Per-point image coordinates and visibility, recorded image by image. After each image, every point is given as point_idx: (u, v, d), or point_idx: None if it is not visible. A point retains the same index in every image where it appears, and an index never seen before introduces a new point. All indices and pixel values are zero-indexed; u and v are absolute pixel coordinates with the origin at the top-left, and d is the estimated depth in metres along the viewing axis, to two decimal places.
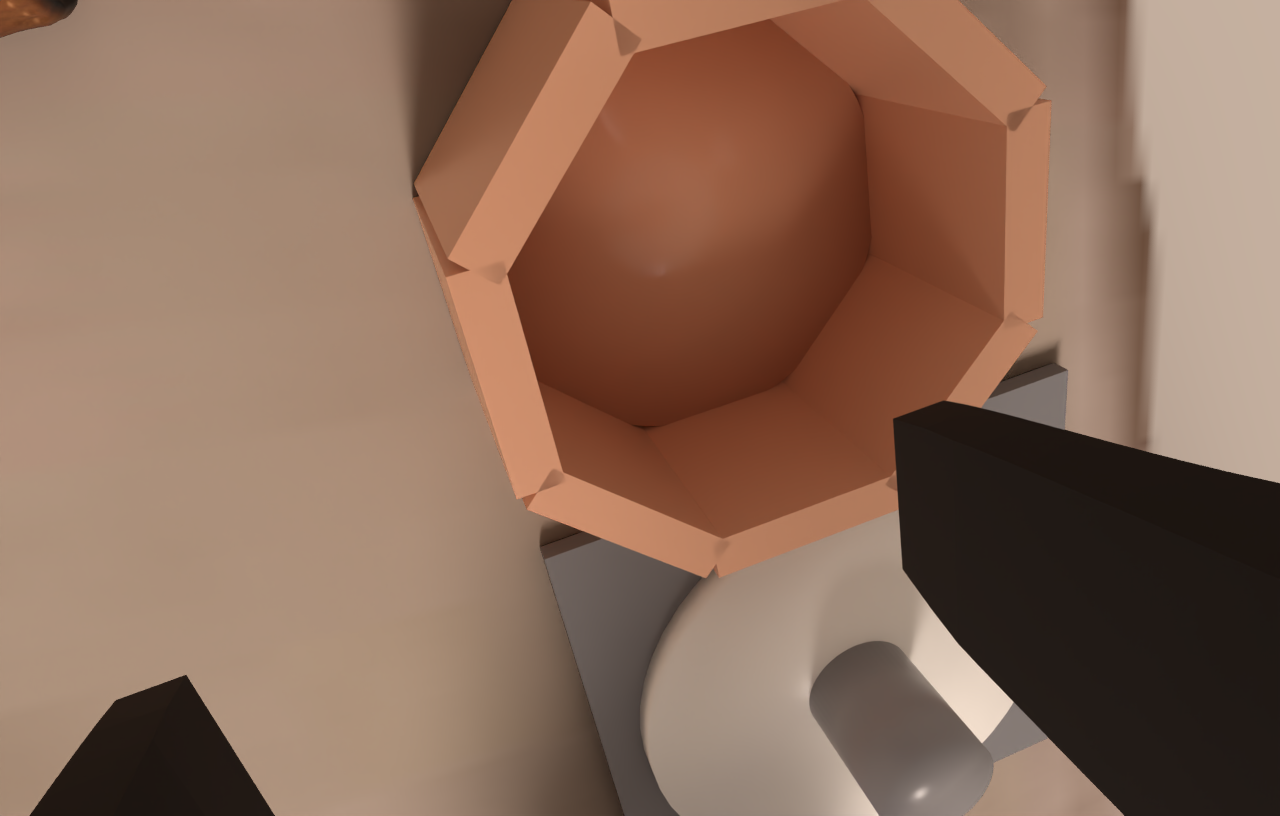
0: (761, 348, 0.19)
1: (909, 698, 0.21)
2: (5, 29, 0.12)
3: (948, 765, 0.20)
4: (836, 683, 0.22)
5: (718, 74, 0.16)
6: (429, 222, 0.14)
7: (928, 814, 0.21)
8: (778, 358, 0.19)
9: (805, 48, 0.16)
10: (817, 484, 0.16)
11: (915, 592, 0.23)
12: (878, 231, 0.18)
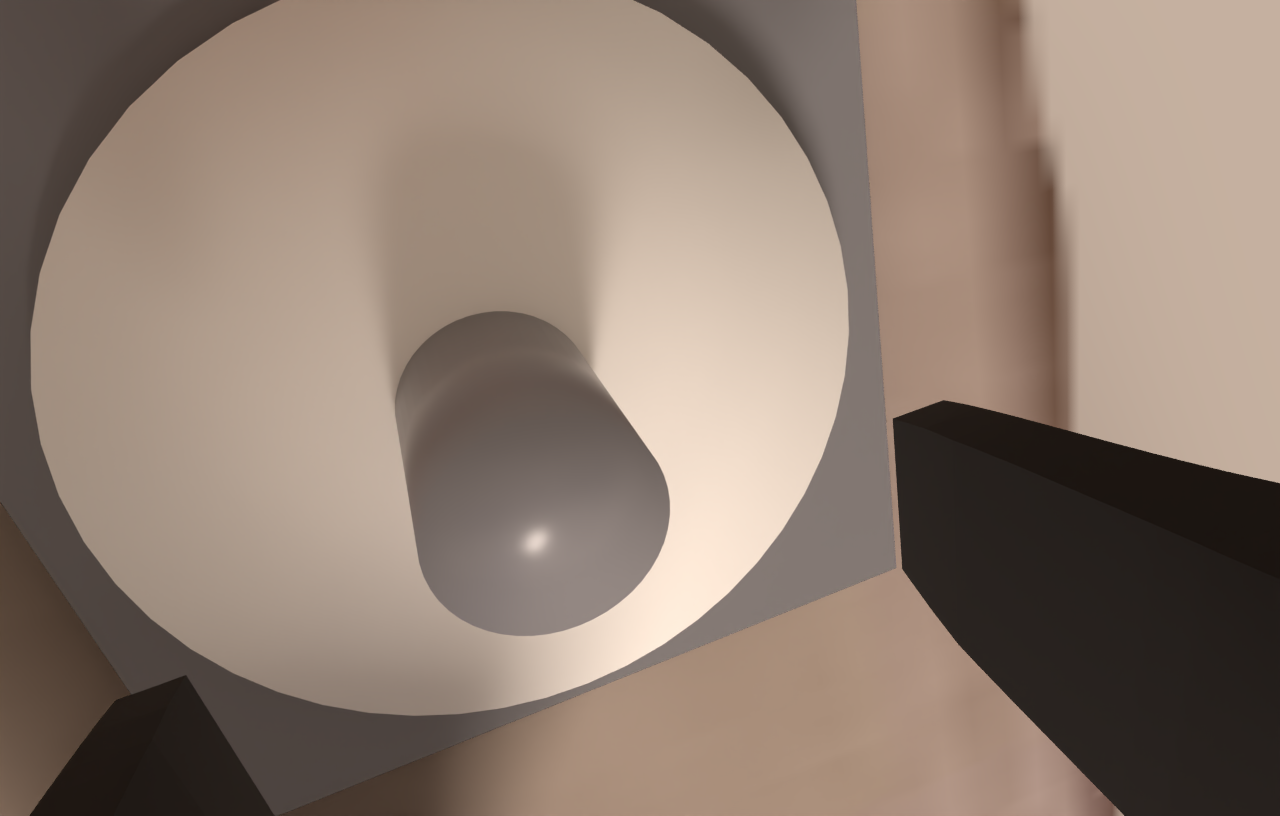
0: None
1: (511, 365, 0.11)
2: None
3: (554, 469, 0.10)
4: (416, 372, 0.12)
5: None
6: None
7: (538, 585, 0.10)
8: None
9: None
10: None
11: (573, 212, 0.12)
12: None
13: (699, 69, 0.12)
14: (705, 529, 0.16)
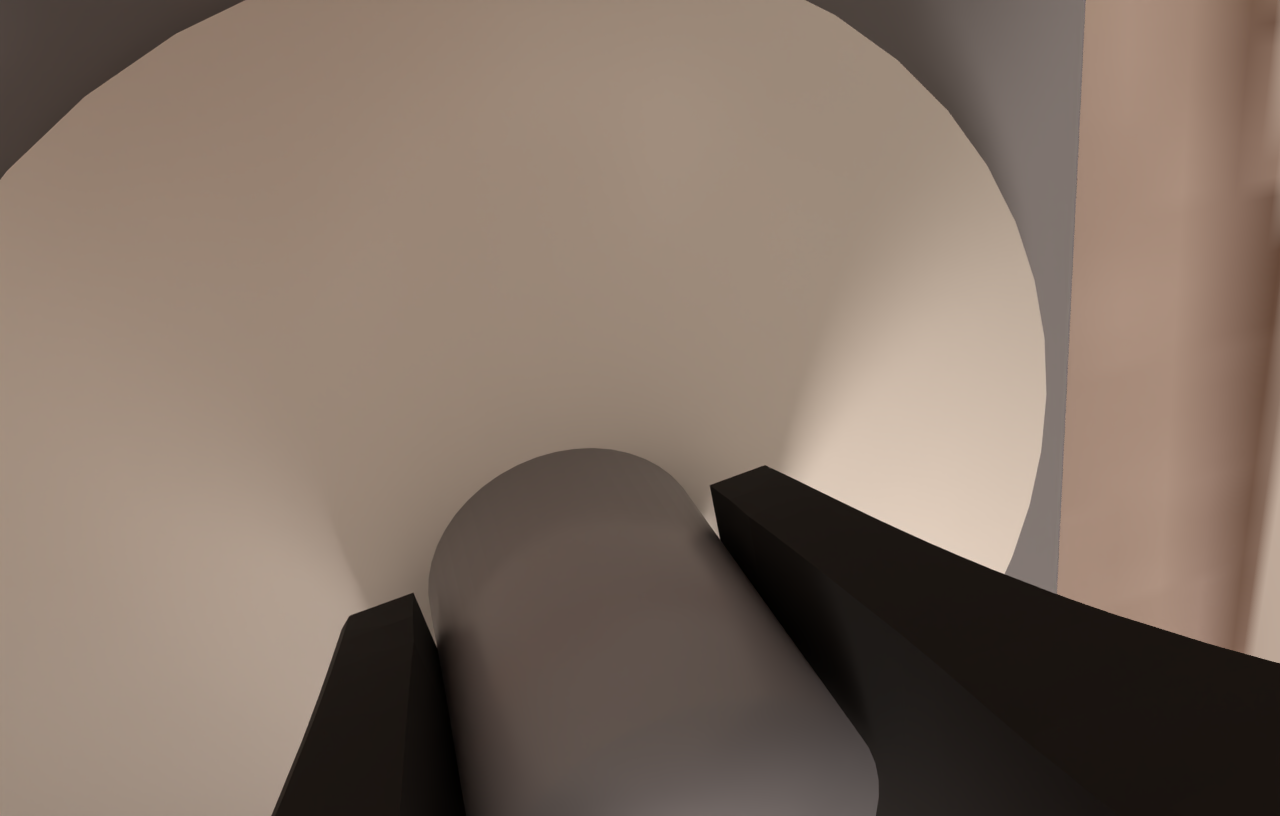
0: None
1: (620, 573, 0.07)
2: None
3: (710, 778, 0.06)
4: (464, 550, 0.08)
5: None
6: None
7: None
8: None
9: None
10: None
11: (690, 308, 0.08)
12: None
13: (881, 98, 0.08)
14: None
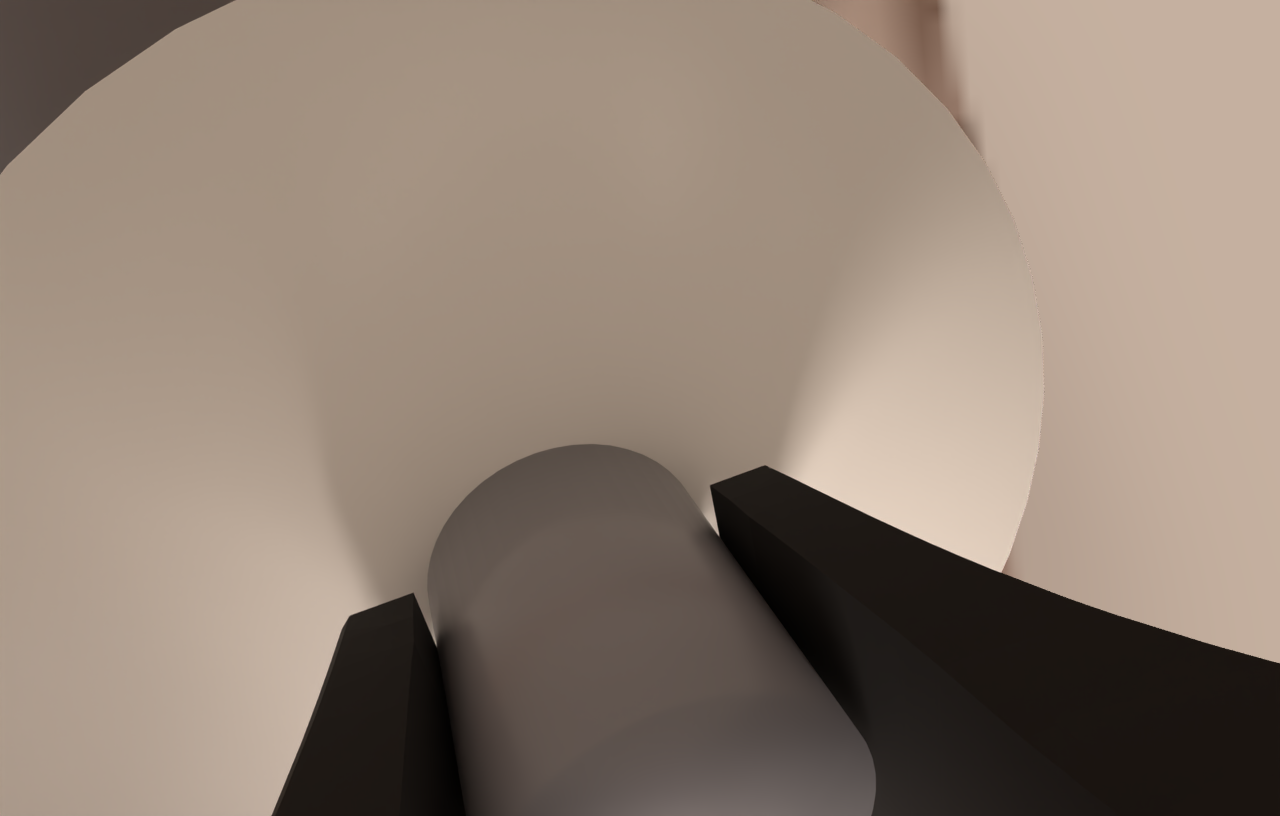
0: None
1: (620, 567, 0.07)
2: None
3: (708, 772, 0.06)
4: (462, 545, 0.08)
5: None
6: None
7: None
8: None
9: None
10: None
11: (689, 305, 0.08)
12: None
13: (880, 94, 0.08)
14: None
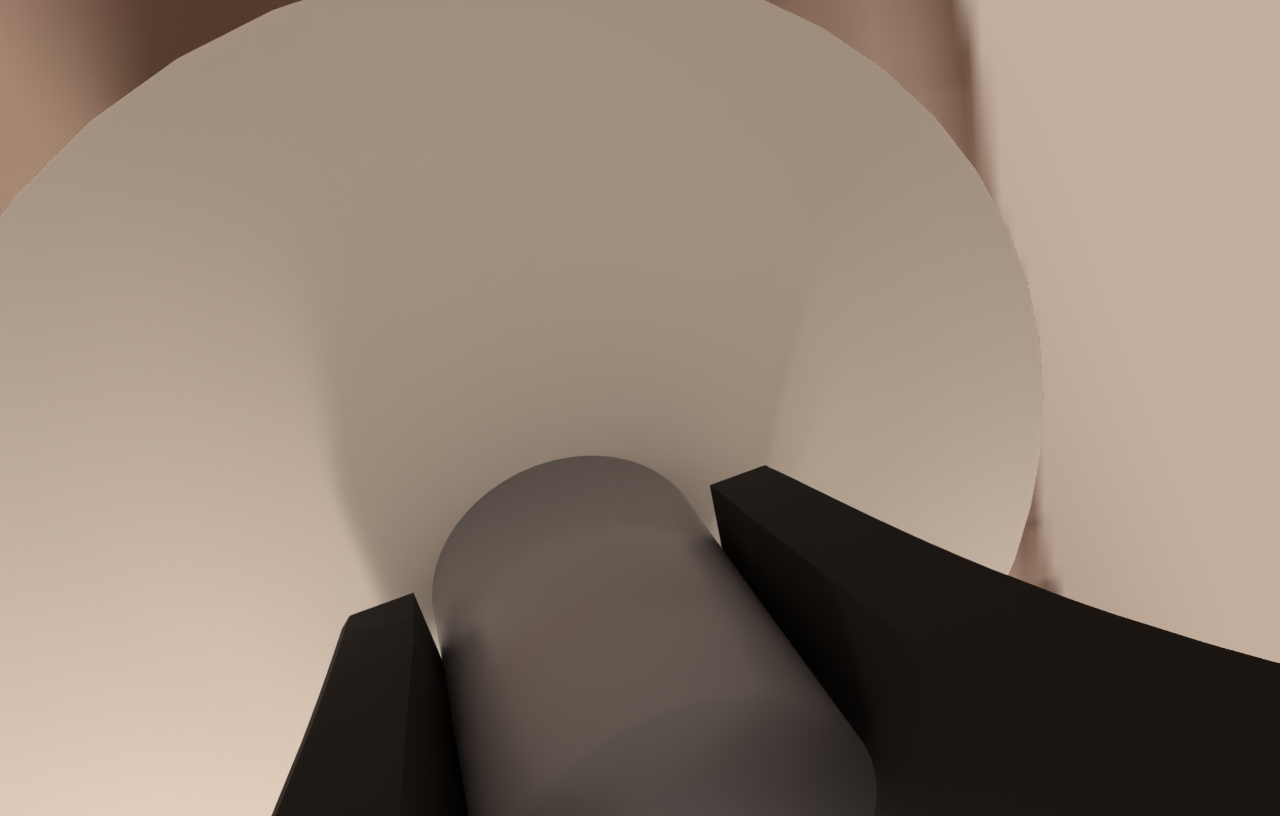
0: None
1: (618, 575, 0.07)
2: None
3: (708, 777, 0.06)
4: (465, 558, 0.08)
5: None
6: None
7: None
8: None
9: None
10: None
11: (685, 316, 0.09)
12: None
13: (868, 107, 0.08)
14: None
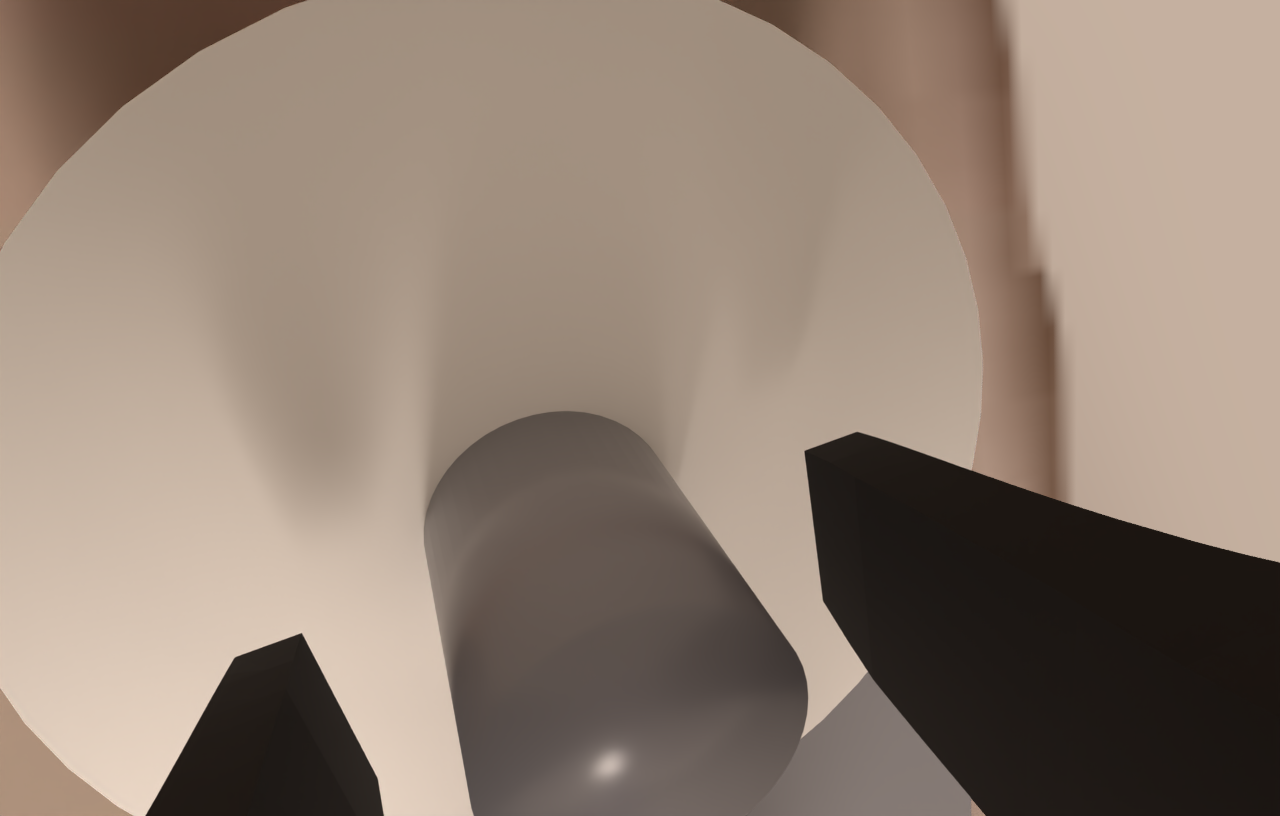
0: None
1: (586, 509, 0.08)
2: None
3: (658, 676, 0.07)
4: (453, 500, 0.09)
5: None
6: None
7: None
8: None
9: None
10: None
11: (651, 285, 0.10)
12: None
13: (816, 96, 0.09)
14: (800, 650, 0.13)
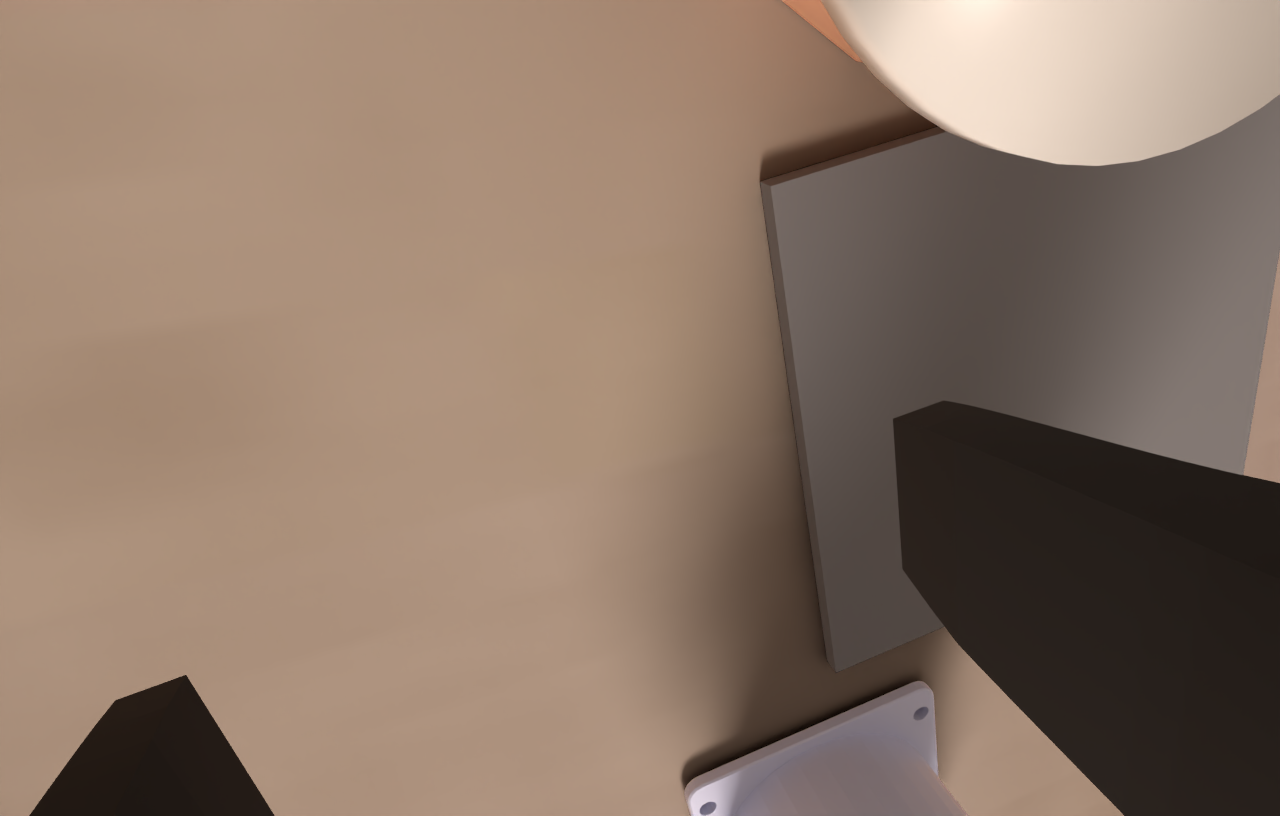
0: None
1: None
2: None
3: None
4: None
5: None
6: None
7: None
8: None
9: None
10: None
11: None
12: None
13: None
14: None
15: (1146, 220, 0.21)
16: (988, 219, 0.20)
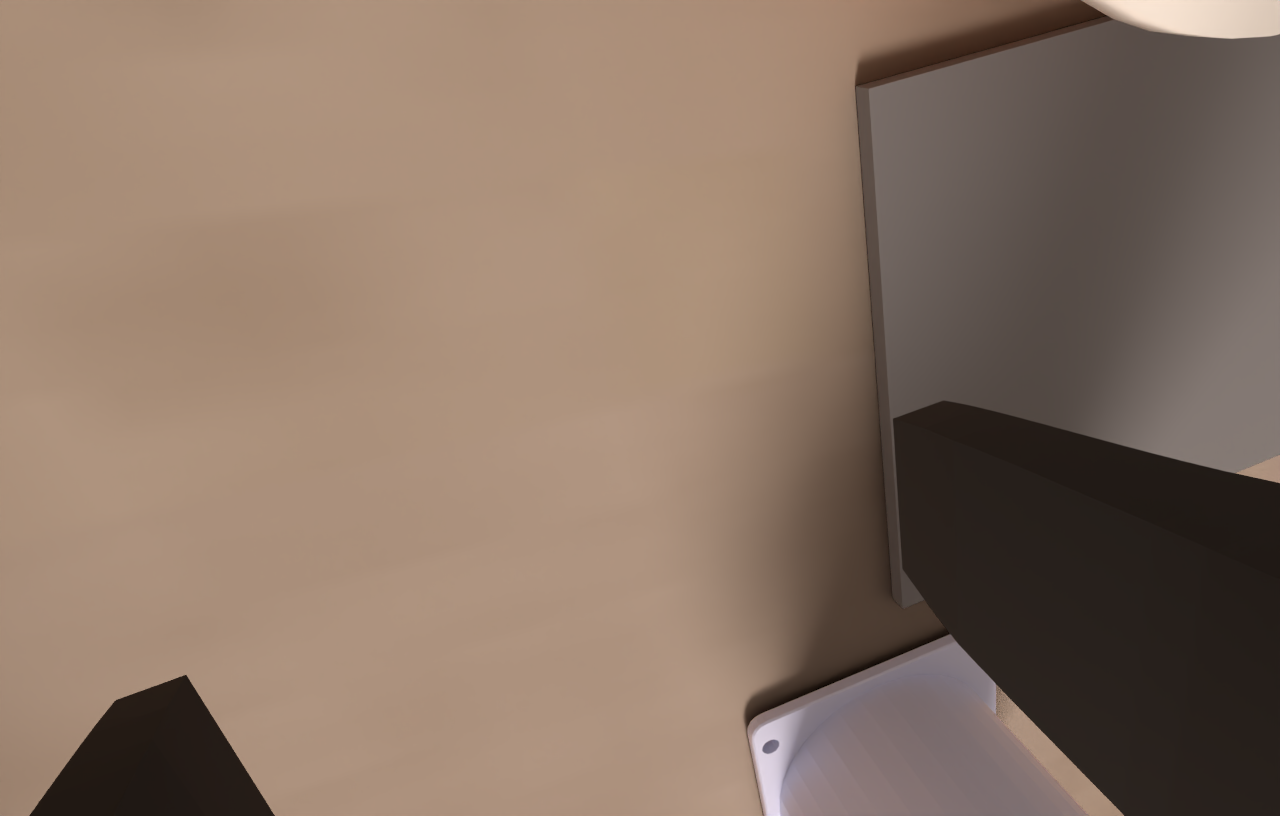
0: None
1: None
2: None
3: None
4: None
5: None
6: None
7: None
8: None
9: None
10: None
11: None
12: None
13: None
14: None
15: (1229, 144, 0.21)
16: (1077, 135, 0.20)
